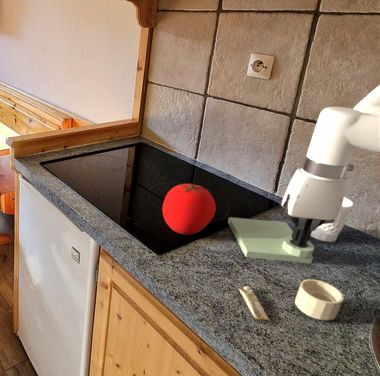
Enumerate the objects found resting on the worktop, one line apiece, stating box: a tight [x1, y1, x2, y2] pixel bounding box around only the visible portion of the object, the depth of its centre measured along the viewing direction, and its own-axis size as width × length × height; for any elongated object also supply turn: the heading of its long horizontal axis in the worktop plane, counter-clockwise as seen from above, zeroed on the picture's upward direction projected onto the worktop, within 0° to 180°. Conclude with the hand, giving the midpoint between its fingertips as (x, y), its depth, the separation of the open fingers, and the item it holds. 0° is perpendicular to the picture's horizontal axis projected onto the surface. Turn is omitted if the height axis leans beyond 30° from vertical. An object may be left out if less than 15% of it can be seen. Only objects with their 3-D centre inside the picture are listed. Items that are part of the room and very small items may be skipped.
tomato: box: [162, 182, 217, 236], centre depth 100 cm, size 12×12×13 cm
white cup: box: [310, 196, 354, 243], centre depth 100 cm, size 8×8×10 cm
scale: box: [227, 216, 315, 264], centre depth 98 cm, size 14×16×4 cm
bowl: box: [294, 278, 345, 321], centre depth 76 cm, size 7×7×4 cm
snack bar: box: [236, 285, 271, 323], centre depth 77 cm, size 10×2×3 cm
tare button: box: [291, 240, 307, 248], centre depth 92 cm, size 3×3×2 cm
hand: (298, 242), depth 92 cm, fingers closed
